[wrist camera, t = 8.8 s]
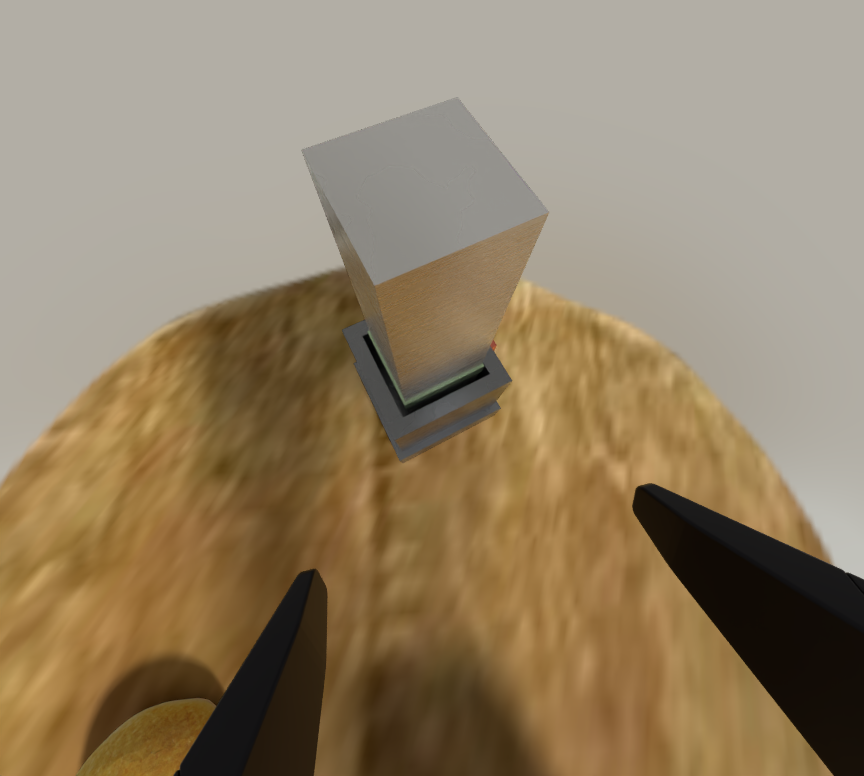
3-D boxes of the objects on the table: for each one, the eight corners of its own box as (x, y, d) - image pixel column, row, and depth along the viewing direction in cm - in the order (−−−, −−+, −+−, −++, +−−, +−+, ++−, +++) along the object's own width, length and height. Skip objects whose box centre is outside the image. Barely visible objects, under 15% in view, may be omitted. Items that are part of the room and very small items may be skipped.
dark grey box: (494, 415, 22) (523, 384, 15) (402, 463, 21) (390, 452, 14) (446, 333, 24) (453, 274, 17) (359, 373, 23) (331, 326, 16)
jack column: (476, 382, 17) (555, 214, 6) (407, 416, 16) (371, 291, 6) (441, 321, 18) (458, 93, 8) (375, 351, 17) (295, 148, 7)
